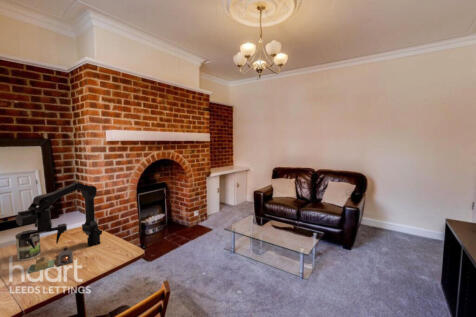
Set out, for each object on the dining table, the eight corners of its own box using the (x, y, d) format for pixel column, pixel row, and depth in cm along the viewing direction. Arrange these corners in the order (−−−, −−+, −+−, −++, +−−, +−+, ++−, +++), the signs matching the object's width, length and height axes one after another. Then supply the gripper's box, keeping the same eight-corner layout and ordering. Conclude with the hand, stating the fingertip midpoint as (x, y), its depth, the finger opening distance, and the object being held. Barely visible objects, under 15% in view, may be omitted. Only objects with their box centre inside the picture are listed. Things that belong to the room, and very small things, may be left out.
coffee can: (45, 252, 132) (44, 230, 131) (26, 261, 122) (24, 237, 121) (32, 250, 134) (30, 228, 133) (12, 259, 124) (10, 236, 123)
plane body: (58, 255, 129) (58, 247, 129) (72, 251, 133) (72, 244, 133) (57, 266, 117) (57, 258, 117) (72, 262, 121) (72, 254, 121)
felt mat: (54, 260, 124) (54, 259, 124) (53, 266, 118) (53, 265, 118) (30, 266, 118) (30, 265, 118) (28, 273, 111) (28, 272, 111)
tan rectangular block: (36, 264, 119) (36, 258, 118) (48, 261, 122) (48, 255, 122) (35, 270, 113) (34, 264, 113) (47, 266, 116) (47, 260, 116)
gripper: (66, 211, 129) (67, 236, 130) (22, 218, 117) (24, 245, 119) (65, 216, 120) (67, 243, 121) (18, 224, 109) (21, 254, 110)
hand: (46, 246), depth 118 cm, fingers open, 9 cm apart
